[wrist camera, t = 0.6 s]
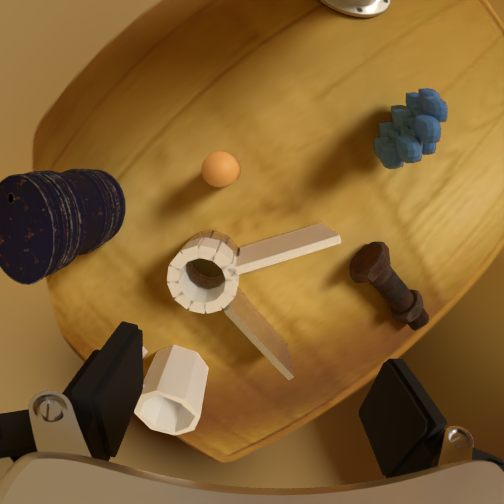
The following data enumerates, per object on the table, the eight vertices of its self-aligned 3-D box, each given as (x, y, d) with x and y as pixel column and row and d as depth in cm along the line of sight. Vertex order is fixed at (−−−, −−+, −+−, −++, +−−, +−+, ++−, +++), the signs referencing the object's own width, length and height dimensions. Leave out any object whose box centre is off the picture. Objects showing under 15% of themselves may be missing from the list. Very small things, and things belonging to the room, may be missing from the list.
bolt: (405, 314, 39) (350, 252, 36) (432, 301, 36) (381, 233, 33) (407, 344, 35) (348, 283, 32) (437, 331, 32) (383, 263, 29)
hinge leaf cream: (194, 293, 35) (183, 320, 29) (174, 241, 34) (156, 258, 27) (329, 252, 34) (347, 271, 27) (315, 197, 32) (332, 204, 26)
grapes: (386, 189, 32) (443, 199, 21) (346, 154, 31) (393, 147, 20) (427, 123, 30) (487, 113, 18) (391, 88, 29) (445, 62, 17)
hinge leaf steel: (215, 219, 33) (206, 231, 26) (305, 331, 37) (316, 363, 30) (171, 254, 34) (153, 274, 27) (264, 357, 38) (267, 392, 31)
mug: (219, 366, 39) (213, 415, 29) (187, 396, 40) (176, 442, 31) (149, 318, 37) (124, 359, 27) (123, 353, 38) (98, 395, 29)
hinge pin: (229, 152, 31) (223, 144, 23) (245, 172, 32) (245, 172, 23) (208, 168, 32) (194, 166, 23) (224, 188, 32) (216, 194, 24)
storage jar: (132, 240, 34) (67, 284, 19) (71, 248, 34) (0, 287, 19) (121, 161, 31) (45, 159, 17) (60, 176, 31) (-20, 187, 17)
